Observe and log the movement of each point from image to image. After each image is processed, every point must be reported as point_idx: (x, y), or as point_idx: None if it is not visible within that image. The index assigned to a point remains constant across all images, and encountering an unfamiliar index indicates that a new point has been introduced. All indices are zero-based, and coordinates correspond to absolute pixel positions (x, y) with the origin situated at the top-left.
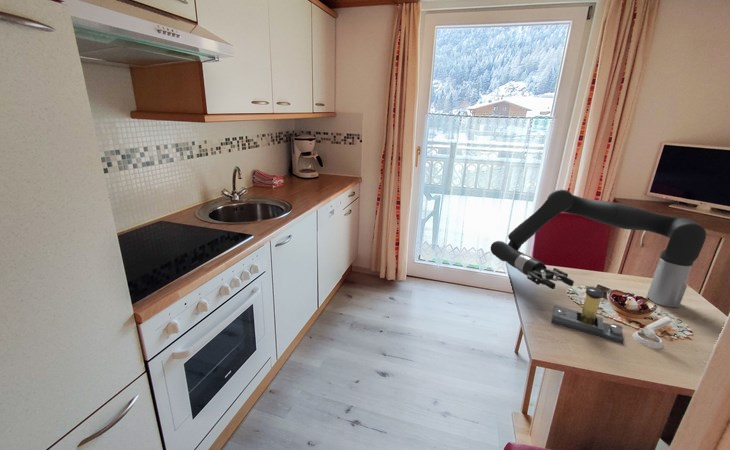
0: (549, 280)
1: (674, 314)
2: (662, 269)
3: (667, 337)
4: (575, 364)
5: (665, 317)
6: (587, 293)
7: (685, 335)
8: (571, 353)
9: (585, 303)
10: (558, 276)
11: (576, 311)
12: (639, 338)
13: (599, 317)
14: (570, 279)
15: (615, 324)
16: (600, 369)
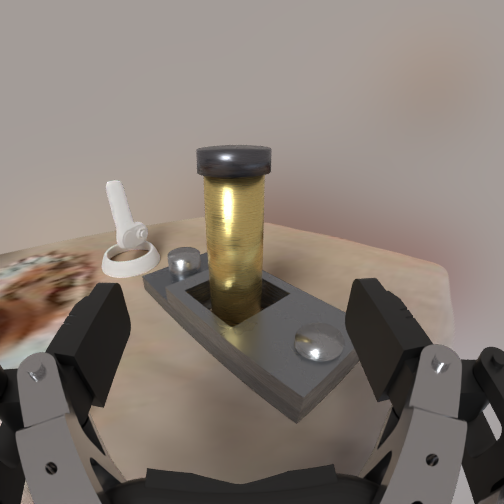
0: (391, 323)
1: None
2: None
3: (78, 259)
4: (379, 251)
5: (111, 185)
6: (270, 166)
7: (44, 256)
8: (372, 265)
9: (262, 223)
10: (15, 487)
11: (226, 332)
12: (153, 254)
13: (173, 290)
14: (91, 299)
15: (174, 258)
16: (337, 240)
